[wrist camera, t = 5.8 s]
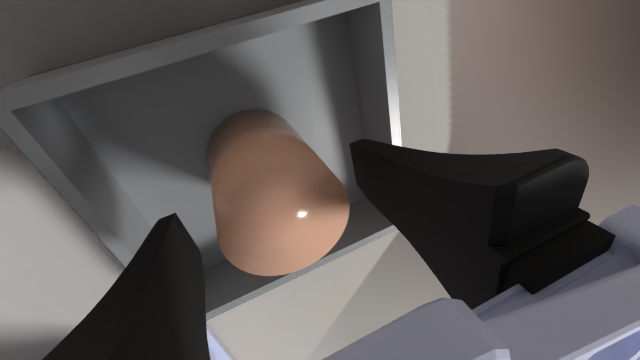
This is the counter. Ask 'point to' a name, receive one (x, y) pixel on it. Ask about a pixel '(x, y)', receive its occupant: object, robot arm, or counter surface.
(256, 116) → the peach rounded cylinder
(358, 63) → the bin
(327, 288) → the counter surface
